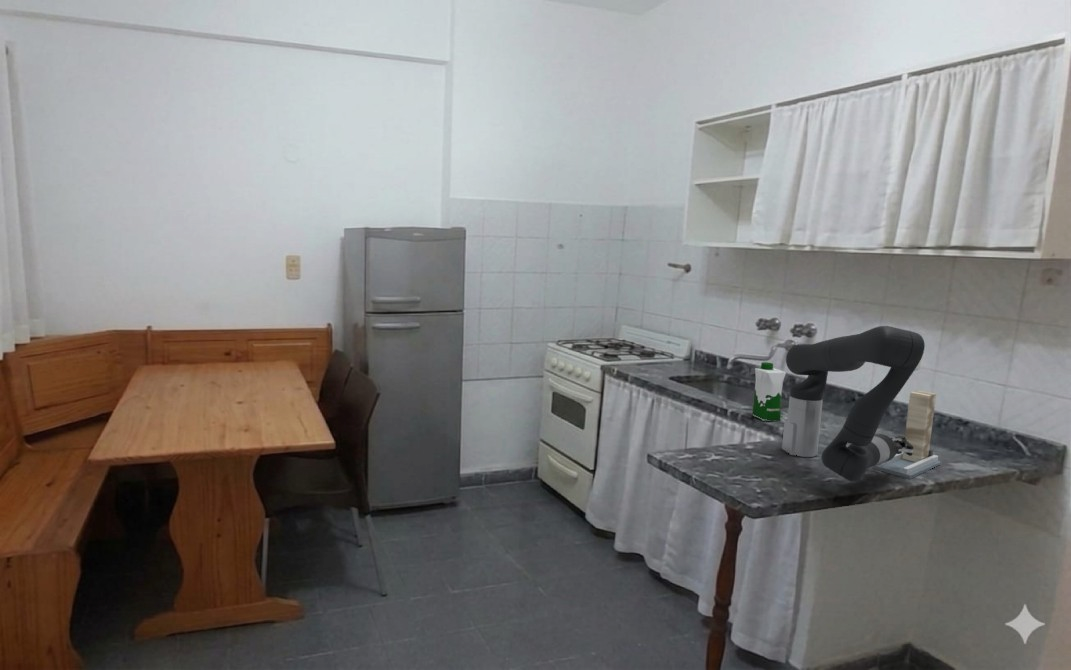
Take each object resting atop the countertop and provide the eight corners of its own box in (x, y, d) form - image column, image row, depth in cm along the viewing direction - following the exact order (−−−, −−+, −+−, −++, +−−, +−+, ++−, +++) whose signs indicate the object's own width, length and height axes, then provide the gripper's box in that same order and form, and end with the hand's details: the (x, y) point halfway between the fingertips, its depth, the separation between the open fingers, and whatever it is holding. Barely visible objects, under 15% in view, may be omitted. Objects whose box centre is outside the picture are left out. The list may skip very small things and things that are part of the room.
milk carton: (769, 414, 242) (773, 361, 239) (784, 421, 233) (789, 366, 230) (748, 415, 239) (752, 362, 236) (763, 422, 231) (768, 367, 228)
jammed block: (920, 463, 188) (928, 395, 185) (902, 458, 192) (910, 392, 189) (927, 460, 191) (936, 393, 188) (909, 455, 195) (917, 390, 192)
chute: (909, 479, 178) (911, 465, 178) (872, 468, 186) (874, 454, 186) (940, 464, 191) (942, 451, 191) (904, 455, 199) (906, 442, 198)
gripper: (902, 443, 168) (929, 432, 179) (851, 430, 178) (879, 421, 189) (899, 471, 169) (926, 459, 180) (848, 457, 179) (876, 446, 190)
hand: (902, 439), depth 184 cm, fingers closed
